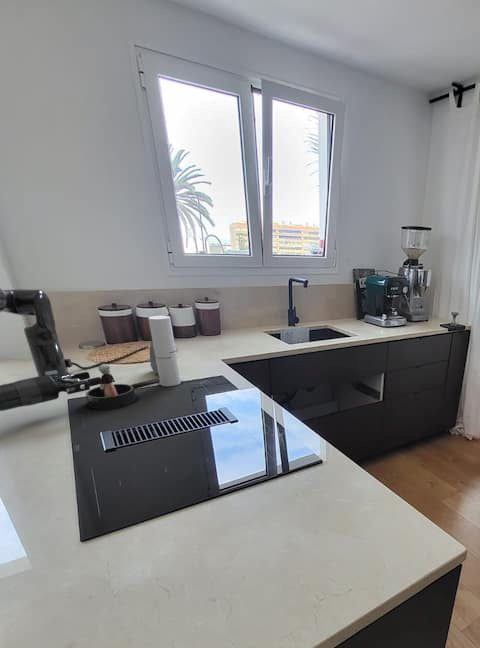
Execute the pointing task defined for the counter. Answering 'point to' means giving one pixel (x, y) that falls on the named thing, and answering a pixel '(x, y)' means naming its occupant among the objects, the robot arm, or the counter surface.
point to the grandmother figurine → (107, 381)
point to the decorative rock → (153, 359)
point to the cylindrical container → (164, 350)
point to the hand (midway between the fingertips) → (94, 377)
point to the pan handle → (145, 383)
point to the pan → (122, 399)
